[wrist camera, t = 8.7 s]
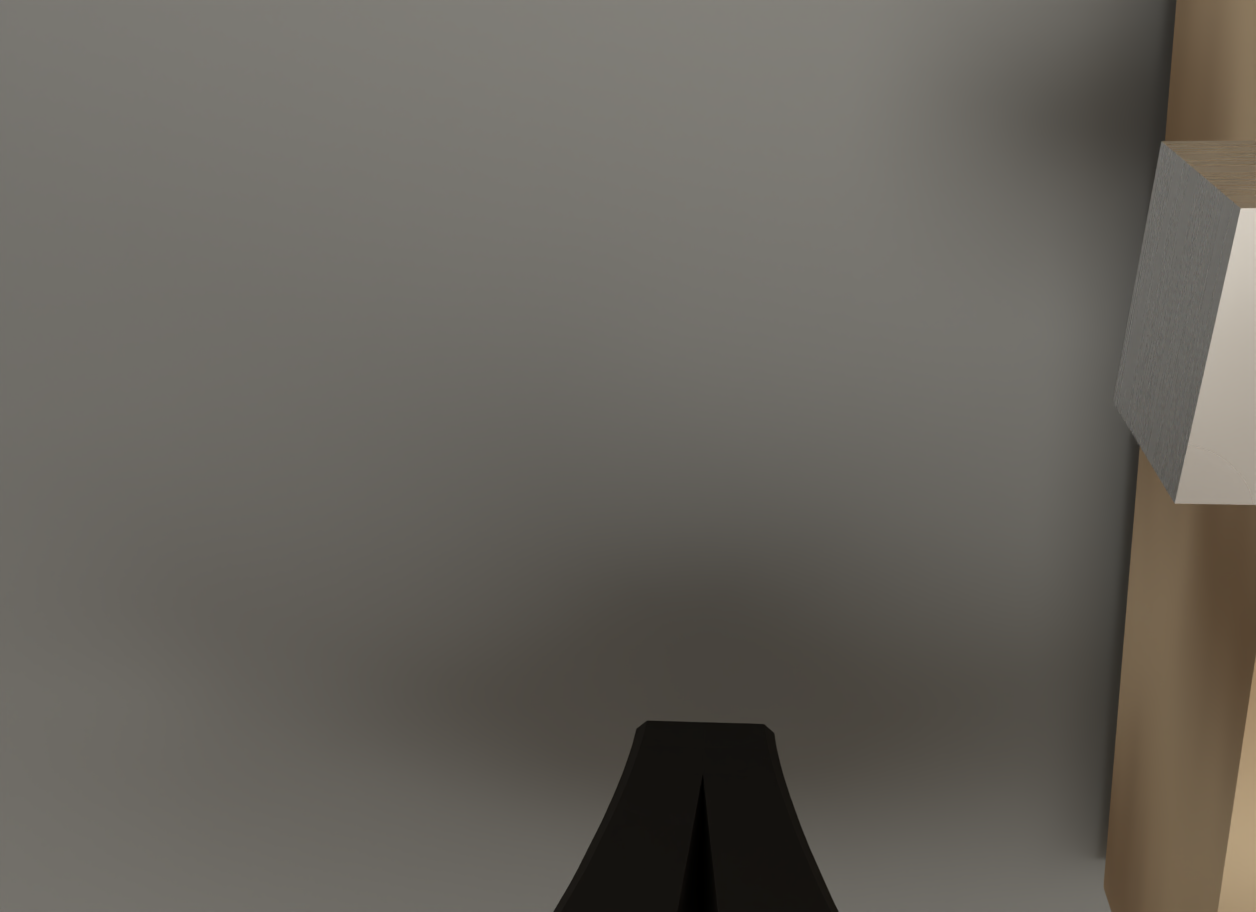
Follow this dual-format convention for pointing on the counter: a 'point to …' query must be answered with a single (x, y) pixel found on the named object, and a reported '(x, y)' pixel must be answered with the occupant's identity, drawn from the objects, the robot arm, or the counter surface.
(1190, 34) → the link
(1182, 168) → the keeper
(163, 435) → the base plate
